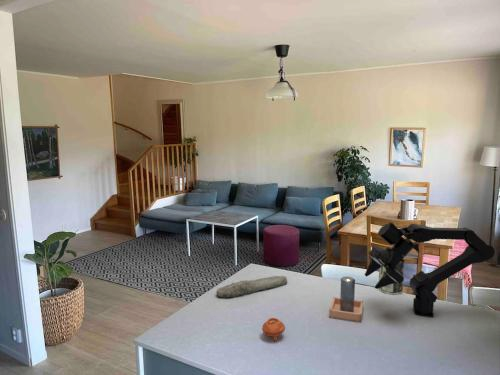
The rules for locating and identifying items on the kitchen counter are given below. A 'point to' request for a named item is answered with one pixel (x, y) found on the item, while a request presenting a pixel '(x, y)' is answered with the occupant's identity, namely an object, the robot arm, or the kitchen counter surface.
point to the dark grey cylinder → (347, 294)
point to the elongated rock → (250, 286)
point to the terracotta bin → (343, 315)
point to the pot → (273, 328)
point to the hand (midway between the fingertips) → (370, 281)
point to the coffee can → (394, 287)
